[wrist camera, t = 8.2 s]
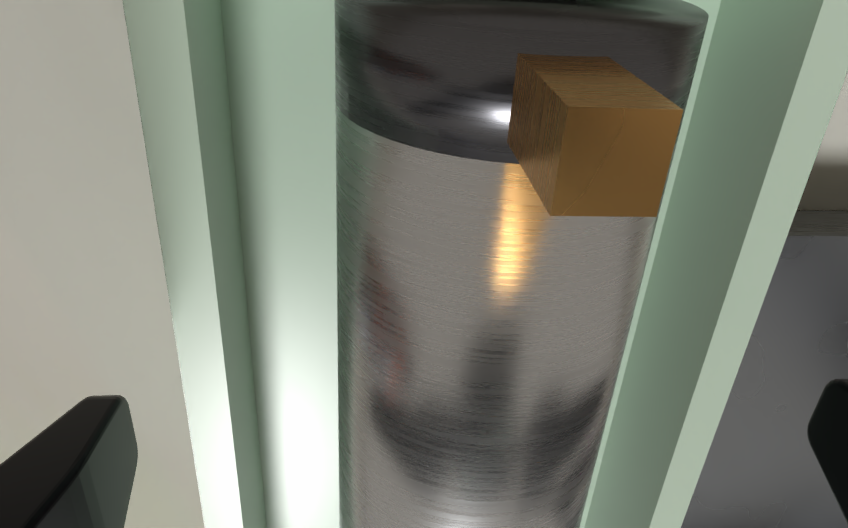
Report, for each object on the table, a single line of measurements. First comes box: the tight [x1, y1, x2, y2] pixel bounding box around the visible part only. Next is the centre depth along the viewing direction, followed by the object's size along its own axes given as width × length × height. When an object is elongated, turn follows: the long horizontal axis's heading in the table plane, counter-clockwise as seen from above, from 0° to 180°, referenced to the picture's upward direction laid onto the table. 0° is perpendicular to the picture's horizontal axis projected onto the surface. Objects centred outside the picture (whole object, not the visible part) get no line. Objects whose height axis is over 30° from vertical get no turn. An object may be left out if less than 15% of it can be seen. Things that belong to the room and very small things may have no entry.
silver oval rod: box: [334, 0, 709, 528], centre depth 11 cm, size 4×15×6 cm, turn 177°
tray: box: [123, 0, 848, 528], centre depth 13 cm, size 8×18×3 cm, turn 177°
